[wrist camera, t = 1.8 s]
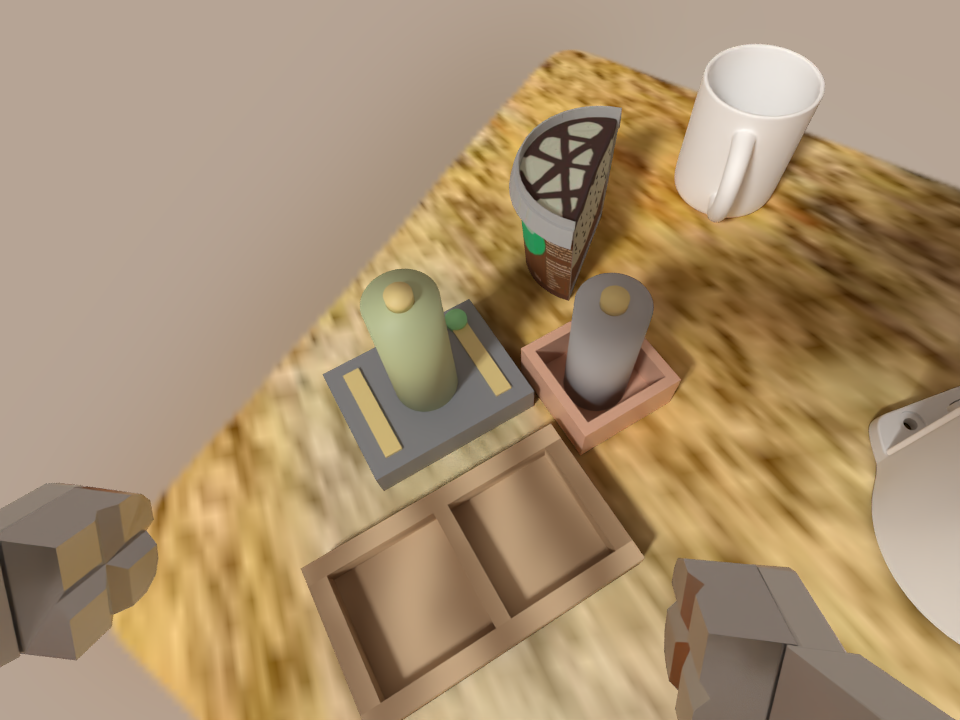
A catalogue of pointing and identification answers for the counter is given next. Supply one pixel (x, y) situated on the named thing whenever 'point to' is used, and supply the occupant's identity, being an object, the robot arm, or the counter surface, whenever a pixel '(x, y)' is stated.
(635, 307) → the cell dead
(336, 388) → the block
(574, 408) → the pink square open box
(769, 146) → the mug
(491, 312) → the counter surface
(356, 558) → the brown divided tray
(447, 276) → the counter surface
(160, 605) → the counter surface
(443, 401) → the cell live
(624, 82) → the counter surface
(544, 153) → the food container
